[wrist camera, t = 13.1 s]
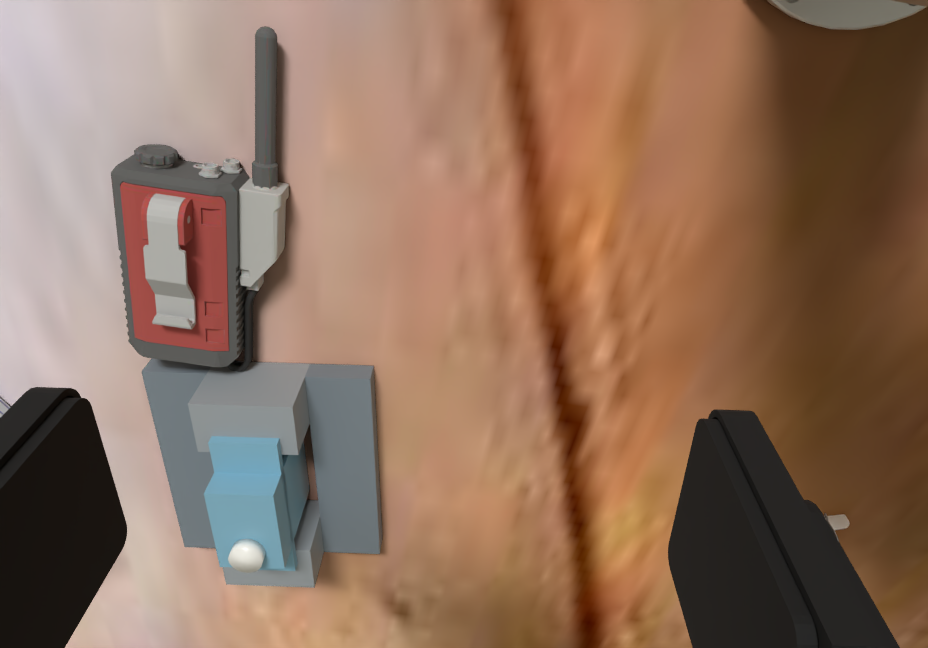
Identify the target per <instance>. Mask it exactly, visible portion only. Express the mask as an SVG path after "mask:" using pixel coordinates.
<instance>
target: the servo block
mask: <svg viewBox="0 0 928 648" xmlns="http://www.w3.org/2000/svg"><path fill="white" fill-rule="evenodd" d="M208 444H209V449H210V454H211V459H212V464H213V468H214V474H213V476H212V478H211V480H210V482H209V484H208V486H207V488H206V490H205V492H204V497H205V502H206V506H207V511H208V515H209V520H210V524H211V529H212V533H213V538H214V542H215V547H216V551H217V556H218V560H219V564H220V567H233V568H234V569H236V570H238V571H240V572H245V573H252V572H255V571H257V570H276V571H296V568H297V564H298V563H297V556H296V549H295V542H294V538H295V535H296V532H297V529H298V525H299V522H300V519H301V516H302V513H303V509H304V506H305V503H306V500H307V497H308V494H309V490H310V487H309V479H308V471H307V463H306V455H305V447H304V441H303V443H302V446H301V449H300V452H299V455H282V452H281V445H280V438H256V437H222V436H211V438H210V440H209V442H208Z"/></svg>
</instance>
